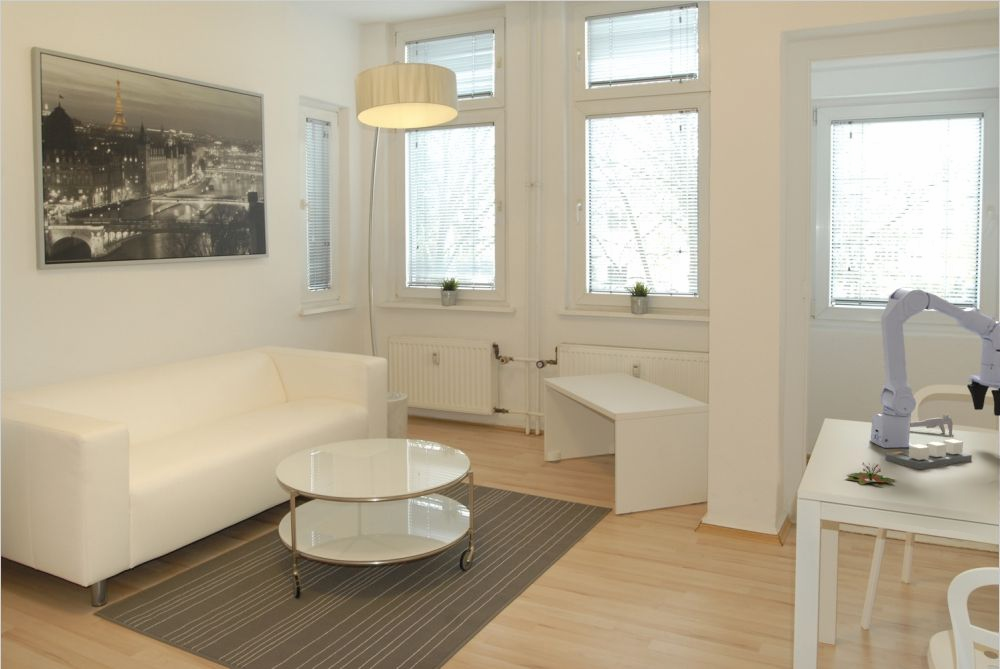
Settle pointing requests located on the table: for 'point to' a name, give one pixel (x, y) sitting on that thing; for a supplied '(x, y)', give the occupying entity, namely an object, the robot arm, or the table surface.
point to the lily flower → (870, 477)
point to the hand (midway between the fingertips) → (988, 412)
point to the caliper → (935, 423)
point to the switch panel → (927, 463)
